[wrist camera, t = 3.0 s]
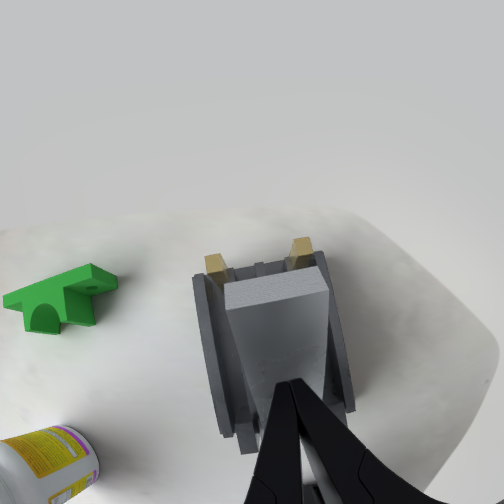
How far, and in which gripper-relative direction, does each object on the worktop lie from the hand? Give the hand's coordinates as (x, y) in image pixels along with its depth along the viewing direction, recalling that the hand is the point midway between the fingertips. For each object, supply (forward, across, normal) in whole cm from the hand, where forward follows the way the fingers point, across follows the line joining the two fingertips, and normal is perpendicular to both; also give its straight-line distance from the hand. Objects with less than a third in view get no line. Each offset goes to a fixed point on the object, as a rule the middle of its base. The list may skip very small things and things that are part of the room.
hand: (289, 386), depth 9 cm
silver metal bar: (+3, 0, +3) cm, 4 cm away
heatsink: (+10, 0, +8) cm, 13 cm away
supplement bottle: (+4, +20, +15) cm, 26 cm away
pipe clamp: (+14, +18, +5) cm, 23 cm away
